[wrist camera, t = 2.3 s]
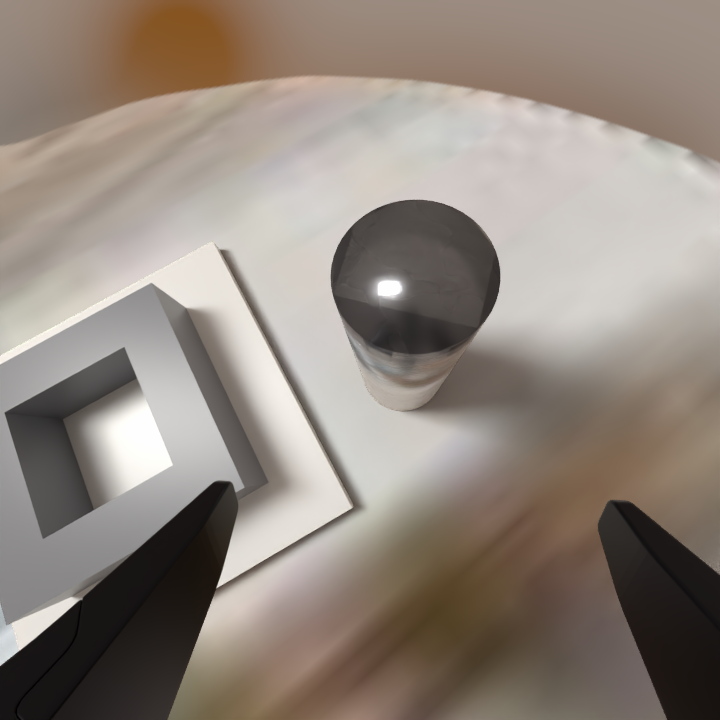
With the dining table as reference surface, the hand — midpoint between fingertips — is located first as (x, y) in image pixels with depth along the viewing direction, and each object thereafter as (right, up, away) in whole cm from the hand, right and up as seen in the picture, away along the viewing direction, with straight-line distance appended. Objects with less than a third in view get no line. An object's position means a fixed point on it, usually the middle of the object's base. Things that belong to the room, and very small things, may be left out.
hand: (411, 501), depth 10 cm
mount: (-14, -1, +13) cm, 19 cm away
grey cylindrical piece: (+1, +3, +13) cm, 13 cm away
